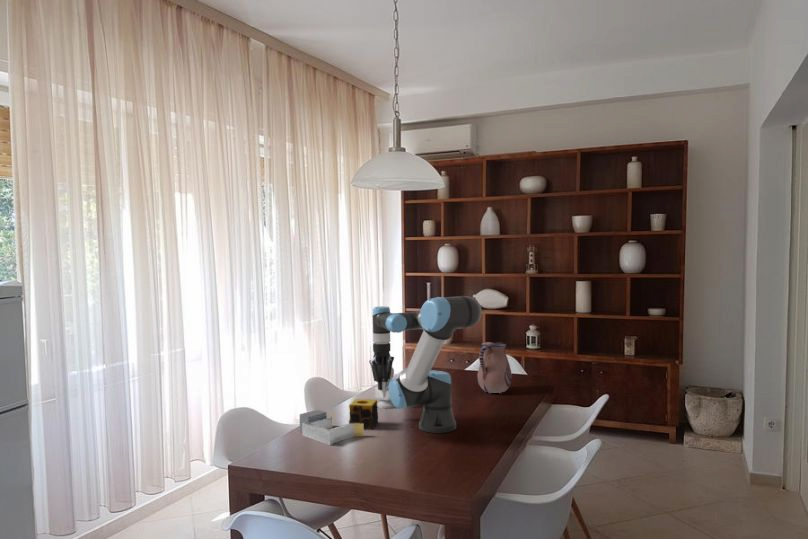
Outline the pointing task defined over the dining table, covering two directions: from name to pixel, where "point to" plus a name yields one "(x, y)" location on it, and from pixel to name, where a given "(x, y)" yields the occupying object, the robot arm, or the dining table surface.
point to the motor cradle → (327, 428)
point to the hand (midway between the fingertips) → (382, 396)
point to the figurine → (386, 400)
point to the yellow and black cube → (364, 412)
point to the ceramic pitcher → (494, 368)
